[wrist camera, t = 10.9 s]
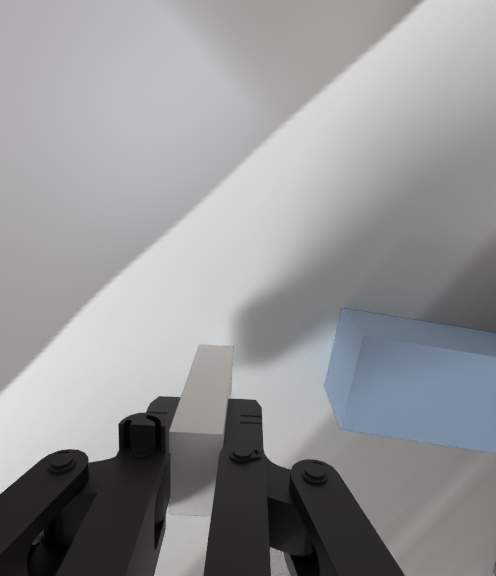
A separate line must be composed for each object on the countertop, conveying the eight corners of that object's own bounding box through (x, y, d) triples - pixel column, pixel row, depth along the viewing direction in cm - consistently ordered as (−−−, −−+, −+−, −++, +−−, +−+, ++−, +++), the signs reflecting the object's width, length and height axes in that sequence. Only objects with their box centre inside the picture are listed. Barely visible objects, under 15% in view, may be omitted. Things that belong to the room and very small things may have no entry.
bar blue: (323, 383, 20) (340, 429, 16) (340, 306, 19) (363, 335, 15) (558, 420, 20) (630, 474, 17) (586, 346, 20) (670, 384, 16)
